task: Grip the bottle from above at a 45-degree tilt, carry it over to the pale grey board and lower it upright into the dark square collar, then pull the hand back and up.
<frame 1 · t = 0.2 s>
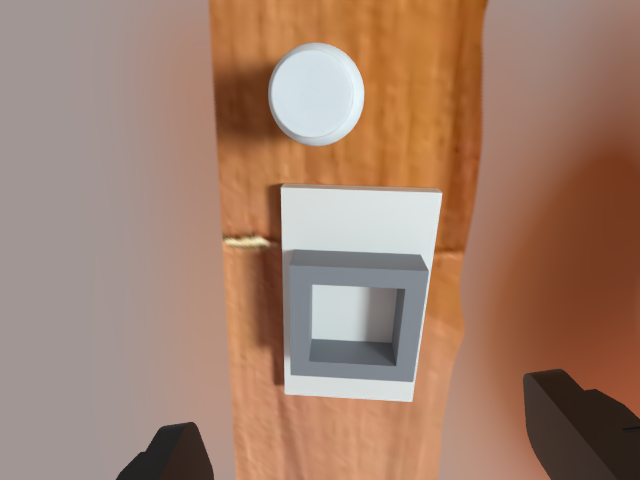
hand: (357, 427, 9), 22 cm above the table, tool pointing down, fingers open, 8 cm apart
supplement bottle: (322, 97, 26), on the table
collar board: (353, 297, 32), on the table
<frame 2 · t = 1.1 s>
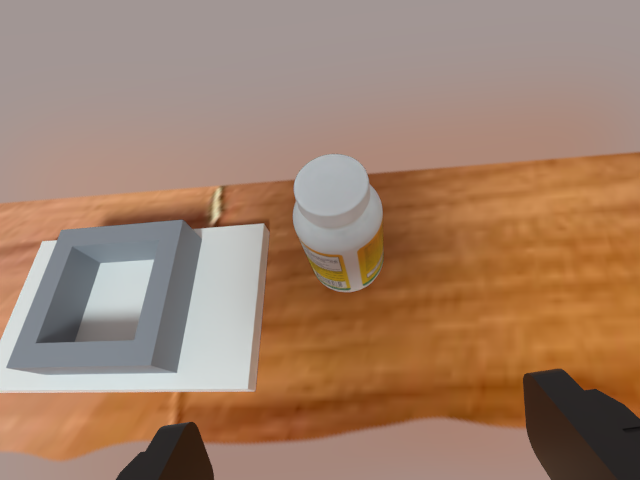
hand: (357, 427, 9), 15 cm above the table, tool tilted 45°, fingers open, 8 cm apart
supplement bottle: (348, 261, 27), on the table
collar board: (140, 309, 28), on the table
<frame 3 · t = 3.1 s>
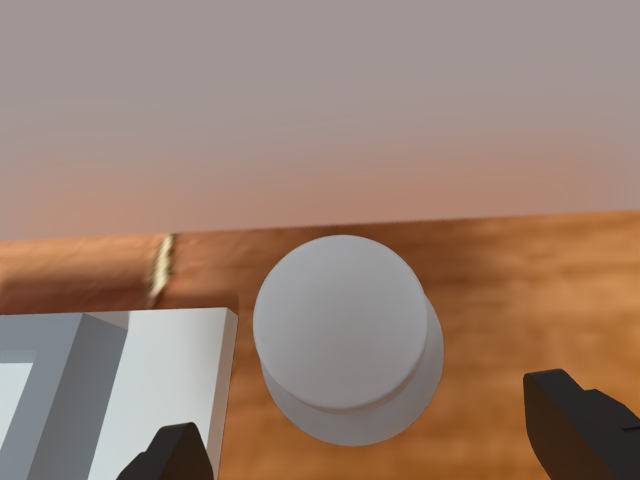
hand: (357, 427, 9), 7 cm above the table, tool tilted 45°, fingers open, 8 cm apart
supplement bottle: (364, 375, 17), on the table
collar board: (26, 443, 18), on the table
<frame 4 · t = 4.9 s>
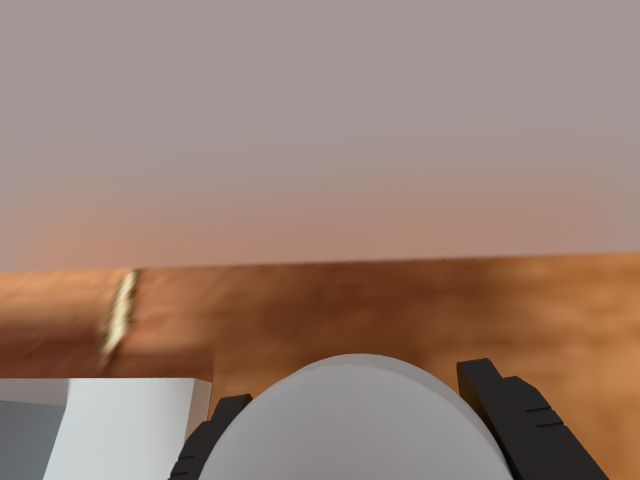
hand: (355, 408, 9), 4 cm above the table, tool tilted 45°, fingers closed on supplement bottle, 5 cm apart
supplement bottle: (375, 474, 12), on the table, touching gripper
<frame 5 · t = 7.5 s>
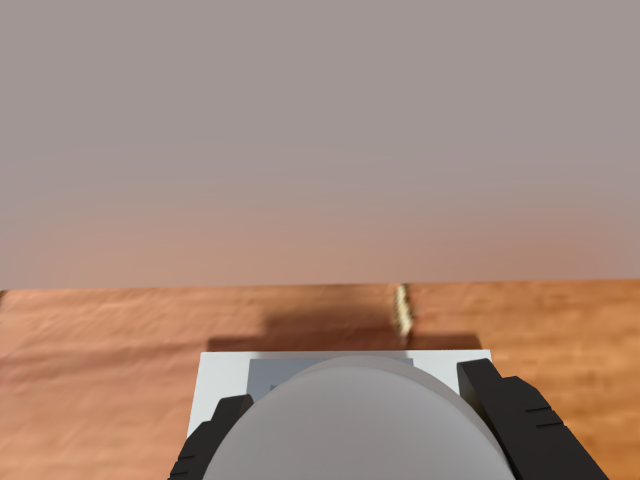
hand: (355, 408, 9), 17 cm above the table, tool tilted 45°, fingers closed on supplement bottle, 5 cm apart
supplement bottle: (376, 475, 12), point 12 cm above the table, touching gripper
collar board: (338, 450, 24), on the table
when the fingers open (6 cm above the table, at t = 10.6 s): supplement bottle stays where it is, resting on collar board.
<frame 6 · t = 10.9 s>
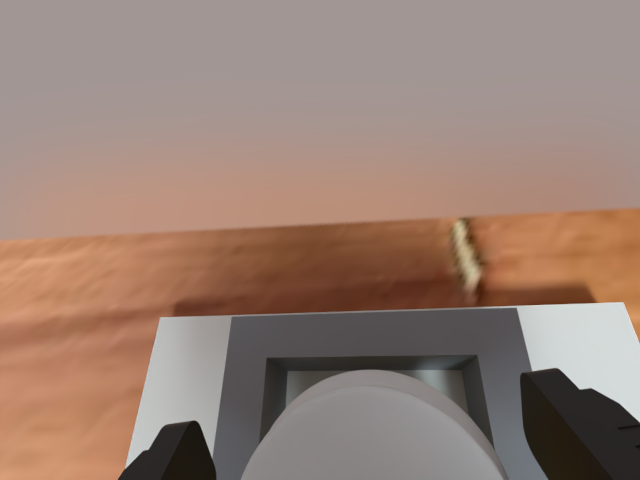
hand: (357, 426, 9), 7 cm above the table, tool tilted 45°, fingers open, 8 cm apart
supplement bottle: (381, 478, 13), point 1 cm above the table, touching collar board
collar board: (377, 469, 14), on the table
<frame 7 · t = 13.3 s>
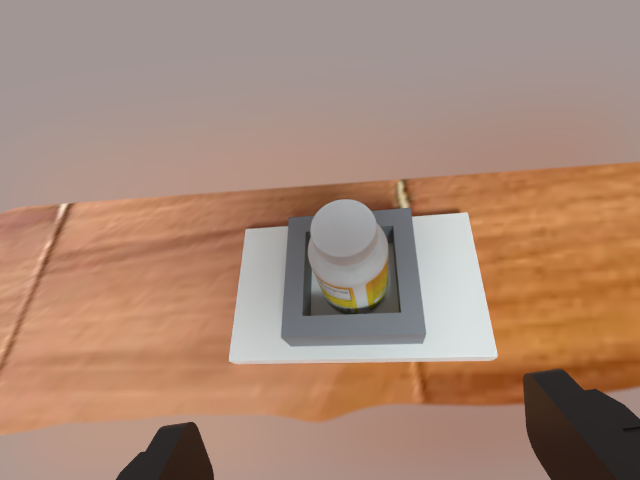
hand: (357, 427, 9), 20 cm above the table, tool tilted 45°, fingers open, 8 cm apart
supplement bottle: (355, 286, 30), point 1 cm above the table, touching collar board
collar board: (354, 289, 31), on the table
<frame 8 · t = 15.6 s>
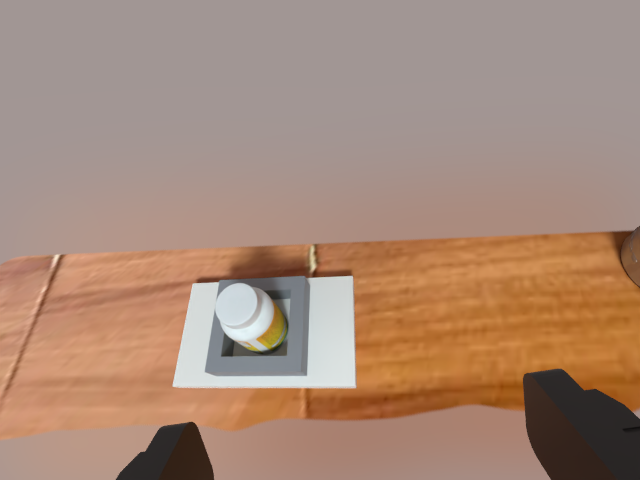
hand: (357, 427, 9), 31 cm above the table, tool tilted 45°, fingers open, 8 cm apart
supplement bottle: (267, 331, 41), point 1 cm above the table, touching collar board
collar board: (269, 332, 42), on the table
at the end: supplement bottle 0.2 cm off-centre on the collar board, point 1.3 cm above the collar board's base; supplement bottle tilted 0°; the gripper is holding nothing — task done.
